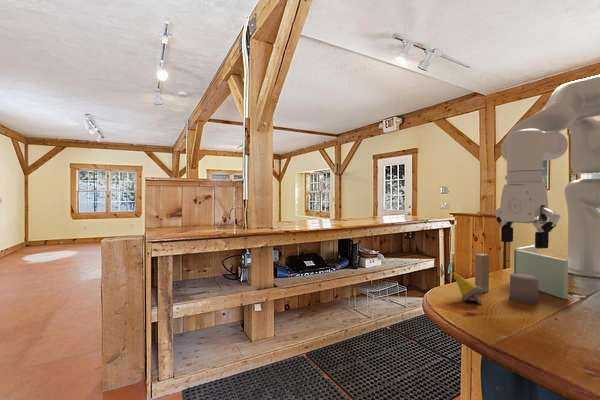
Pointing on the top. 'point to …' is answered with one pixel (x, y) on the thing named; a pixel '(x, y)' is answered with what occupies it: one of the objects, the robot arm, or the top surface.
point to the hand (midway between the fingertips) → (523, 244)
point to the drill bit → (467, 288)
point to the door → (544, 271)
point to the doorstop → (524, 288)
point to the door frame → (483, 267)
